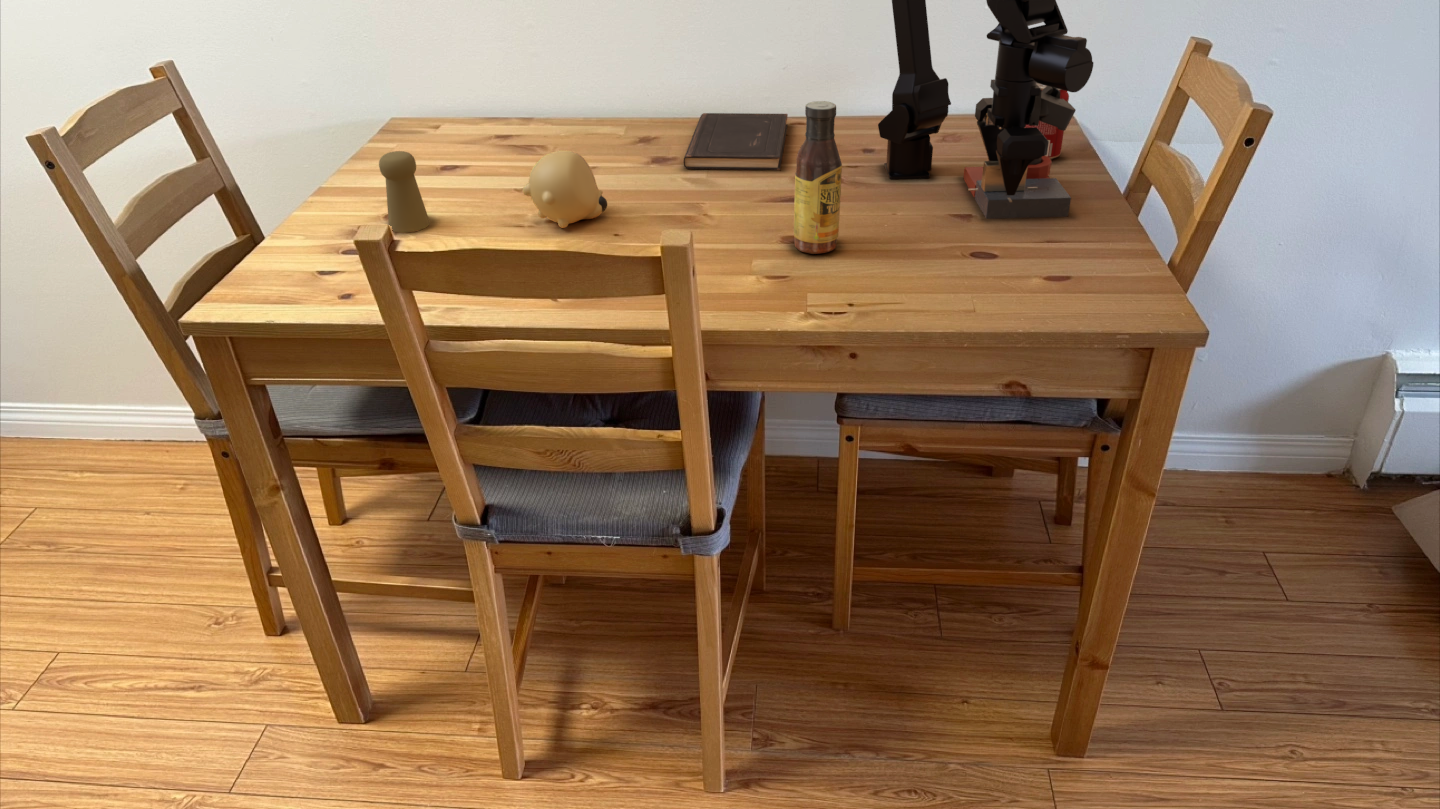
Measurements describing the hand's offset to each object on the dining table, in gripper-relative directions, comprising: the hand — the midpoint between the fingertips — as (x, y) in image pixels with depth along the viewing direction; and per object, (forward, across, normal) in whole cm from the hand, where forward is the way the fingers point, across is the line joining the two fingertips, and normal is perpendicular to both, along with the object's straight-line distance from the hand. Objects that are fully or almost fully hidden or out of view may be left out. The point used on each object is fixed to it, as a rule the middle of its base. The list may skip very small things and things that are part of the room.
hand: (1003, 183), depth 156 cm
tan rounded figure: (+4, 0, +64) cm, 65 cm away
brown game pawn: (+4, 0, +88) cm, 89 cm away
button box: (+4, +8, -3) cm, 10 cm away
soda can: (+4, +22, -12) cm, 25 cm away
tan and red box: (+1, 0, 0) cm, 1 cm away
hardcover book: (+4, +31, +38) cm, 50 cm away
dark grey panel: (+4, 0, -2) cm, 4 cm away
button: (0, +10, -6) cm, 11 cm away
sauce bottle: (+4, -12, +28) cm, 31 cm away
